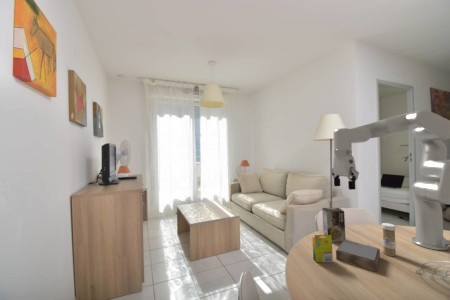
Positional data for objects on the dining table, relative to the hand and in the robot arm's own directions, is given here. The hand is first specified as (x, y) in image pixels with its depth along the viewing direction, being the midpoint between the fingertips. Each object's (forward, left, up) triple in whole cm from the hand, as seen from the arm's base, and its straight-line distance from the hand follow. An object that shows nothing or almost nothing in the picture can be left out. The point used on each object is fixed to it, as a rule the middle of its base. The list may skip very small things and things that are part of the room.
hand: (344, 187), depth 98 cm
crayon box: (+5, +21, -29) cm, 36 cm away
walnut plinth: (-6, +9, -29) cm, 31 cm away
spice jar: (-16, -4, -29) cm, 34 cm away
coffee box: (+7, -5, -29) cm, 30 cm away
